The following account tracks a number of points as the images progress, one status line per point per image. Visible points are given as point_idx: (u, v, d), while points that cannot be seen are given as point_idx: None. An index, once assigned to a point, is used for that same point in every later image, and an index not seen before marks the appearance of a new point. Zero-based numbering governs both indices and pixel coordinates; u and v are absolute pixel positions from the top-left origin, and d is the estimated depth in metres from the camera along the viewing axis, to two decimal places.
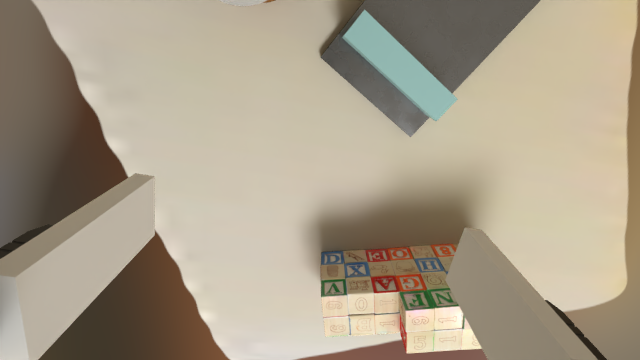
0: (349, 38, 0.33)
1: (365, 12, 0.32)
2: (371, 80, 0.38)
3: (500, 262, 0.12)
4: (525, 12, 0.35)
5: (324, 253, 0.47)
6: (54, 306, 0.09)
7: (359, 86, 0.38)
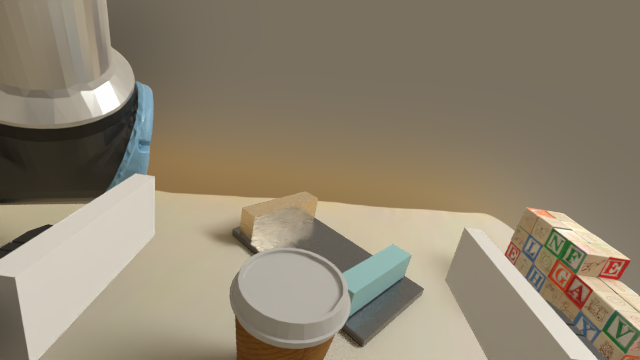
0: (356, 290, 0.37)
1: None
2: (381, 305, 0.41)
3: (500, 262, 0.12)
4: (330, 229, 0.56)
5: None
6: (54, 306, 0.09)
7: (388, 315, 0.40)
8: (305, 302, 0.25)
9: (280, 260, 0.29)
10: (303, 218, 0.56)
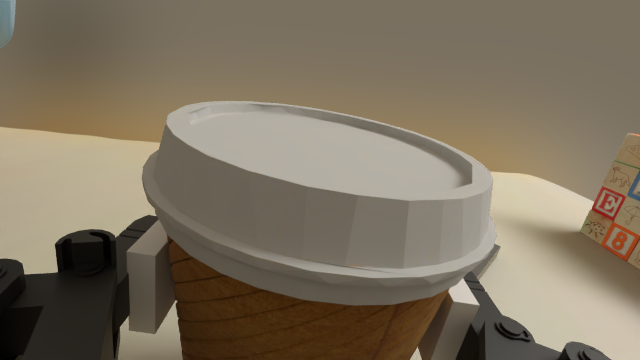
0: None
1: None
2: None
3: None
4: None
5: None
6: (169, 283, 0.10)
7: None
8: (377, 173, 0.08)
9: (287, 120, 0.12)
10: None
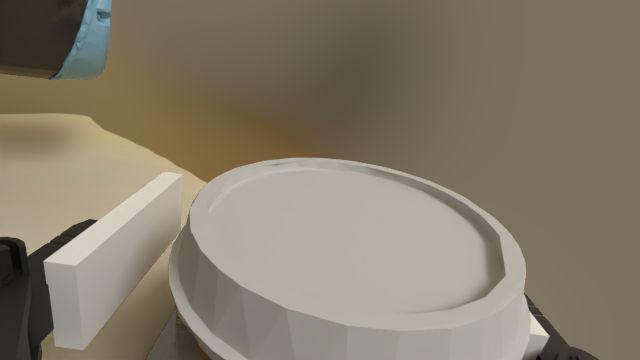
0: None
1: None
2: None
3: None
4: None
5: None
6: (102, 294, 0.09)
7: None
8: (406, 262, 0.08)
9: (303, 180, 0.12)
10: None
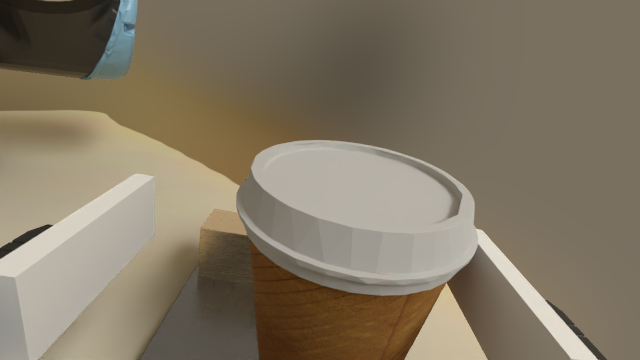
0: None
1: None
2: None
3: (500, 262, 0.12)
4: None
5: None
6: (54, 306, 0.09)
7: None
8: (394, 206, 0.12)
9: (325, 156, 0.16)
10: None
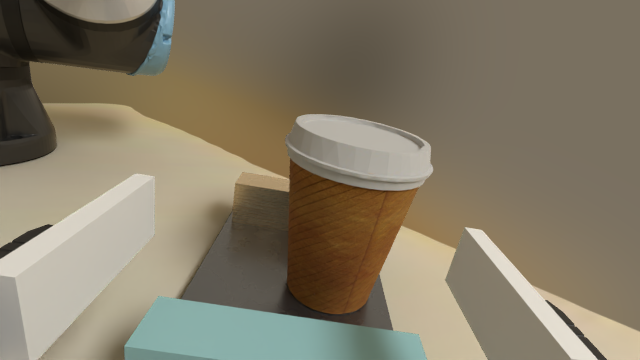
0: (140, 344, 0.14)
1: (162, 298, 0.16)
2: None
3: (500, 262, 0.12)
4: None
5: None
6: (54, 306, 0.09)
7: None
8: (381, 146, 0.20)
9: (339, 124, 0.24)
10: None
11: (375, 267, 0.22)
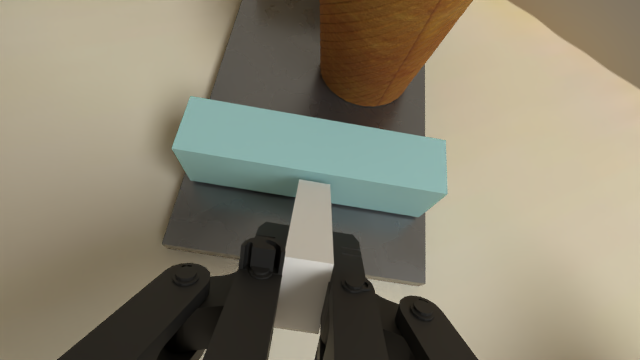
0: (185, 147, 0.15)
1: (194, 99, 0.17)
2: None
3: (320, 204, 0.14)
4: None
5: None
6: None
7: None
8: None
9: None
10: None
11: (418, 64, 0.19)
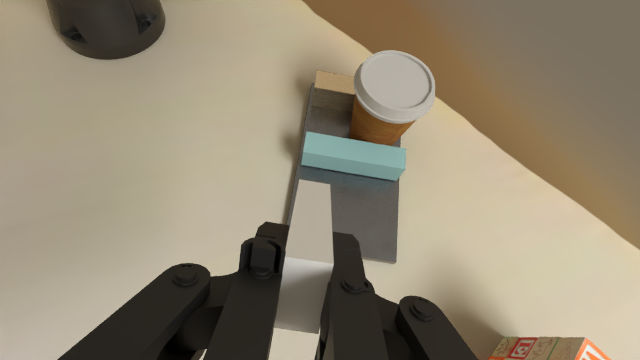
0: (307, 151, 0.42)
1: (308, 132, 0.43)
2: None
3: (320, 204, 0.14)
4: (398, 142, 0.49)
5: None
6: None
7: None
8: (405, 95, 0.37)
9: (386, 61, 0.39)
10: None
11: (395, 140, 0.44)
